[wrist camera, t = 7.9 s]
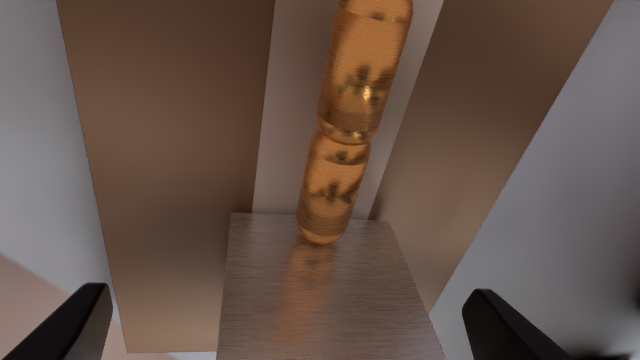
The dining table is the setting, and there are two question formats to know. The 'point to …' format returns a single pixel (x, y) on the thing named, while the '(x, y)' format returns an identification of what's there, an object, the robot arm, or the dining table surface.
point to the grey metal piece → (331, 227)
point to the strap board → (295, 133)
